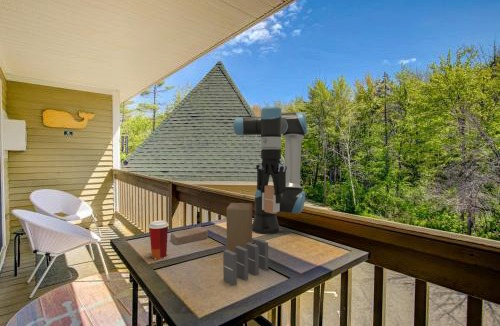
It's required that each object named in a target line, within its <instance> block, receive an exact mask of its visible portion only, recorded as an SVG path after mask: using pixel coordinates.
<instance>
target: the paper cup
mask: <svg viewBox="0 0 500 326" xmlns="http://www.w3.org/2000/svg"><path fill="white" fill-rule="evenodd" d="M169 225H170V224H169V223H168V221H167V220H163V219H162V220H154V221H151V222H150V223H149V224H148V228H149V239H150V250H151V251H150V252H151V258H152V259H153V258H156V259H155V260H161V259H160V258H162V259H165V258H166V257H167V252H168V249H167V248H168V235H169V234H168V232H169V231H168V228H169V227H168V226H169ZM164 257H165V258H164Z"/></svg>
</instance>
